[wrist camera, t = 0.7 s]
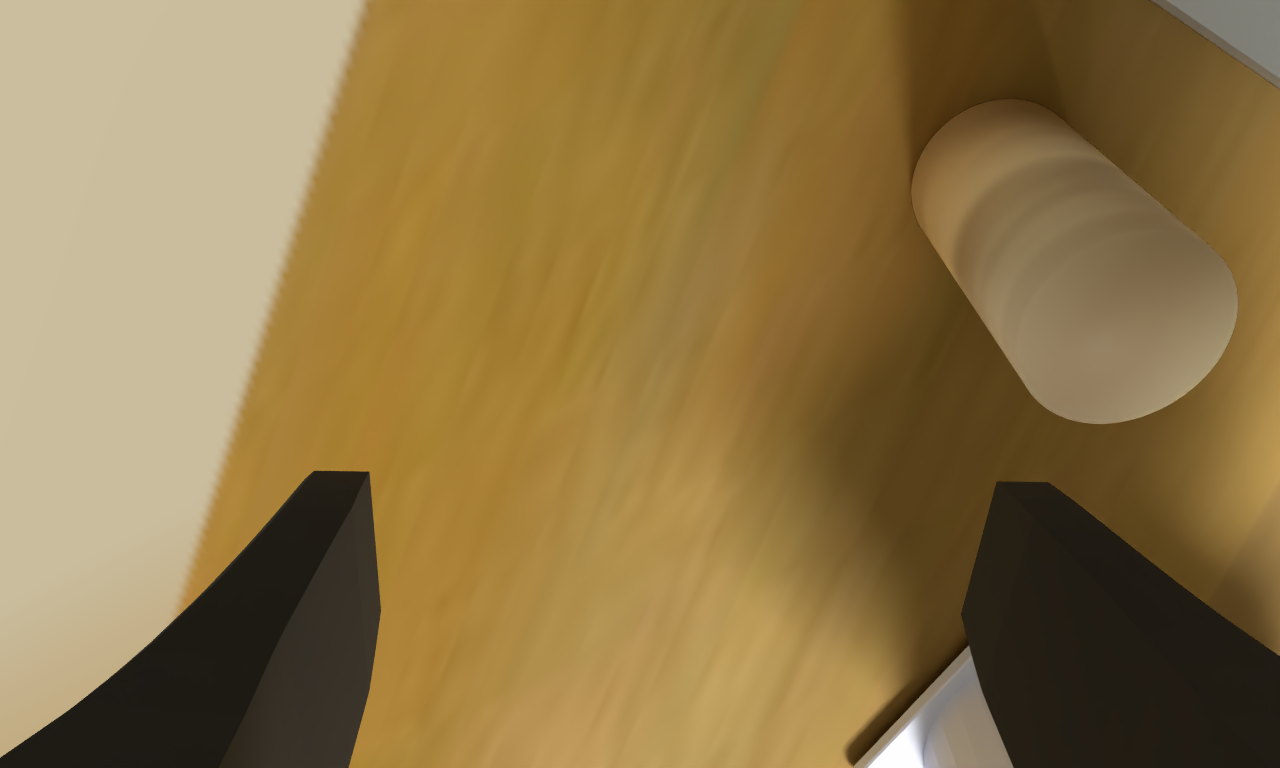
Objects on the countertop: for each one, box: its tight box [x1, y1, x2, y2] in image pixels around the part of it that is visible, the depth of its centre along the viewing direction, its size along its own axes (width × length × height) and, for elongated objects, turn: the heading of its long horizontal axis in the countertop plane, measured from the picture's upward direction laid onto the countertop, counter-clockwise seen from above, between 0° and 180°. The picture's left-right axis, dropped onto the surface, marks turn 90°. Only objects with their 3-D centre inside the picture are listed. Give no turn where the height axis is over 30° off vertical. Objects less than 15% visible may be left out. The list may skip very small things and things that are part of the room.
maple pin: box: [911, 99, 1238, 424], centre depth 19 cm, size 3×3×6 cm
